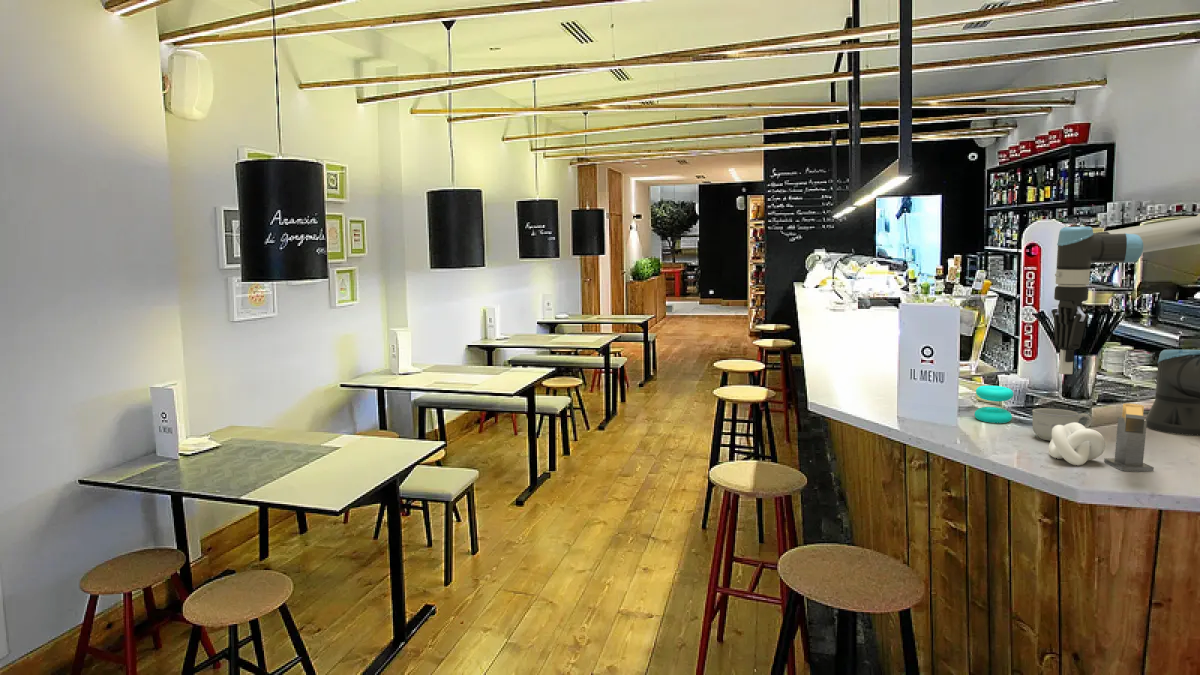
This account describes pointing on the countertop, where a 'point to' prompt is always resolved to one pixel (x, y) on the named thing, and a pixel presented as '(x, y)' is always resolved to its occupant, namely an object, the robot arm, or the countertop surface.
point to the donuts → (993, 412)
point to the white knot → (1075, 443)
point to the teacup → (1054, 420)
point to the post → (1129, 450)
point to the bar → (1133, 418)
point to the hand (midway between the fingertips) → (1065, 373)
